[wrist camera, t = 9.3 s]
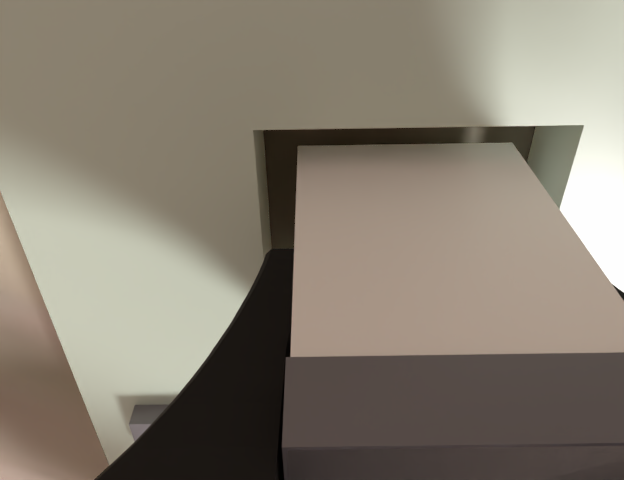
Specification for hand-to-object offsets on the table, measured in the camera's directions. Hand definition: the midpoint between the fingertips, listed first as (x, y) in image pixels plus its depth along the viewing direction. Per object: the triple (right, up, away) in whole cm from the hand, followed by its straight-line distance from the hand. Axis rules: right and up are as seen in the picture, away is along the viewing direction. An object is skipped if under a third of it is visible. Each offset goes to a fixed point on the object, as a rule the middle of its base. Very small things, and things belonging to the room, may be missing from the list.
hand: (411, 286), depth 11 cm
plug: (0, +1, +2) cm, 2 cm away
